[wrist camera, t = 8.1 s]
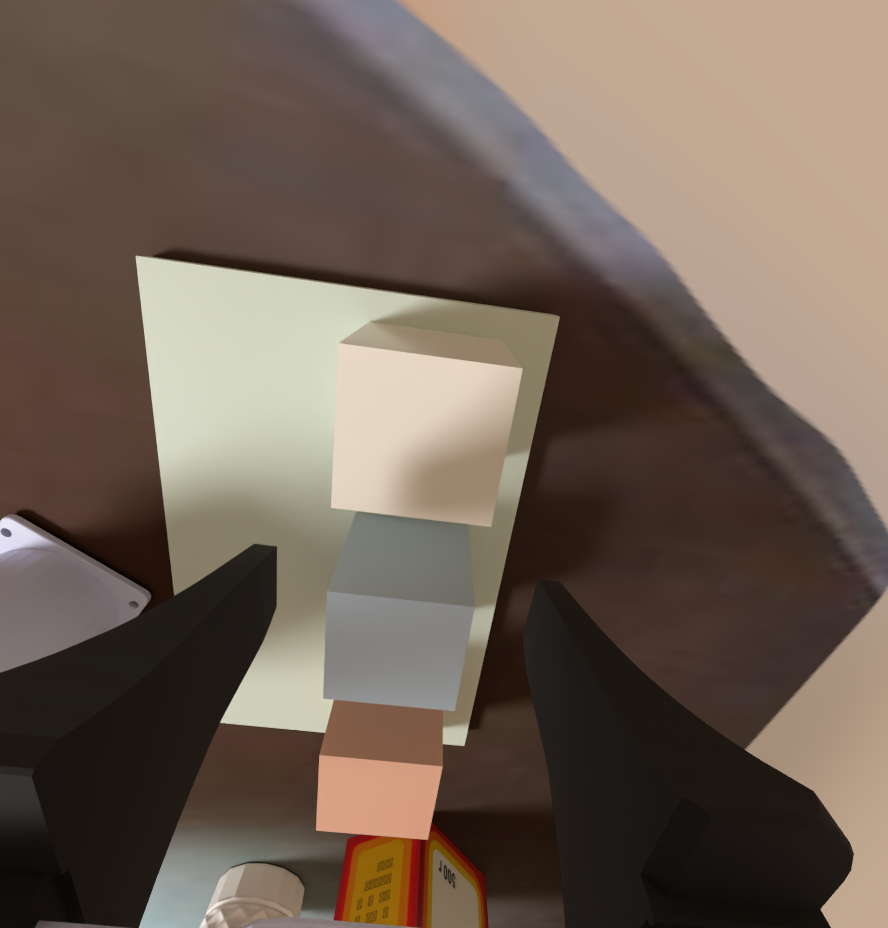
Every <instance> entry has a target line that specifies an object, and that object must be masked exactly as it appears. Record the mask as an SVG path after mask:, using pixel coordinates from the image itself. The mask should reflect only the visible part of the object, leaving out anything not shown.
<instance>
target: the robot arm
mask: <svg viewBox="0 0 888 928" xmlns="http://www.w3.org/2000/svg"><path fill="white" fill-rule="evenodd" d="M9 530H10V531H11V532H10V531H9ZM150 599H151V594H150V593H149V591H147V590H146V589H144V588H143V587H141V586H139V585H137V584H136V583H134V582H132V581H131V580H129V579H127V578H125V577H124V576H122V575H120V574H119V573H117V572H115V571H113V570H112V569H110V568H108V567H106V566H105V565H103V564H101V563H100V562H98V561H96V560H94V559H93V558H91V557H89V556H87V555H86V554H84V553H82V552H81V551H79V550H77V549H75V548H74V547H72V546H70V545H68V544H67V543H65V542H63V541H62V540H60V539H58V538H56V537H55V536H53V535H51V534H49V533H48V532H46V531H44V530H43V529H41V528H39V527H37V526H36V525H34V524H32V523H30V522H29V521H27V520H25V519H24V518H22V517H20V516H18V515H15V514H10V515H7V516H6V517H4V518H2V519H1V521H0V928H139V925H140V922H141V920H142V917H143V914H144V911H145V908H146V906H147V903H148V900H149V897H150V895H151V892H152V889H153V886H154V884H155V881H156V878H157V875H158V873H159V870H160V868H161V865H162V862H163V860H164V857H165V855H166V852H167V849H168V847H169V844H170V841H171V839H172V836H173V834H174V831H175V828H176V826H177V823H178V821H179V818H180V816H181V813H182V811H183V808H184V806H185V803H186V801H187V798H188V796H189V793H190V791H191V788H192V786H193V783H194V781H195V779H196V776H197V774H198V771H199V769H200V767H201V764H202V762H203V760H204V757H205V755H206V752H207V750H208V748H209V745H210V743H211V741H212V738H213V736H214V734H215V732H216V730H217V728H218V726H219V724H220V722H221V720H222V718H223V716H224V714H225V712H226V710H227V708H228V707H229V705H230V703H231V701H232V699H233V697H234V695H235V694H236V692H237V690H238V688H239V686H240V684H241V682H242V681H243V679H244V677H245V675H246V673H247V671H248V669H249V668H250V666H251V664H252V662H253V660H254V658H255V656H256V654H257V653H258V651H259V649H260V647H261V645H262V643H263V641H264V639H265V636H266V634H267V631H268V629H269V626H270V623H271V621H272V618H273V615H274V613H275V610H276V607H277V546H270V545H262V544H253V545H251V546H250V547H248V548H247V549H245V550H244V551H242V552H241V553H240V554H238V555H237V556H235V557H234V558H232V559H231V560H229V561H228V562H226V563H225V564H223V565H222V566H221V567H219V568H218V569H216V570H215V571H213V572H212V573H210V574H208V575H207V576H205V577H204V578H202V579H201V580H199V581H198V582H196V583H195V584H193V585H191V586H190V587H188V588H186V589H185V590H183V591H181V592H180V593H178V594H176V595H175V596H173V597H171V598H170V599H168V600H166V601H165V602H163V603H161V604H160V605H158V606H156V607H154V608H152V609H151V610H149V611H147V612H145V613H143V614H141V615H139V614H140V613H141V611H142V610H143V609H144V607H145V606H146V605H147V603H148V602H149V601H150ZM134 601H135V602H137V603H138V604H137V603H135V602H134ZM138 615H139V616H138ZM523 647H524V658H525V667H526V674H527V678H528V683H529V687H530V692H531V696H532V700H533V705H534V709H535V713H536V718H537V722H538V726H539V730H540V735H541V739H542V743H543V748H544V752H545V757H546V762H547V768H548V774H549V781H550V788H551V796H552V803H553V811H554V819H555V828H556V836H557V845H558V854H559V863H560V873H561V884H562V894H563V904H564V914H565V927H566V928H831V927H830V925H829V924H828V922H827V920H826V918H825V917H824V915H823V913H822V912H821V910H820V909H821V907H822V906H823V905H824V904H825V903H826V902H827V901H828V899H829V898H830V897H831V896H832V894H834V892H835V891H836V890H837V889H838V888H839V886H840V885H841V884H842V883H843V882H844V881H845V879H846V877H847V876H848V874H849V872H850V871H851V867H852V861H853V855H854V853H853V850H852V847H851V845H850V842H849V841H848V839H847V838H846V837H845V835H844V834H843V832H842V831H841V829H840V828H839V827H838V825H837V824H836V822H835V821H834V819H833V818H832V817H831V815H830V814H829V812H828V811H827V809H826V808H825V807H824V805H823V804H822V802H821V801H820V800H819V798H818V797H817V795H816V794H815V793H814V791H812V790H810V789H809V788H807V787H805V786H804V785H802V784H800V783H798V782H797V781H795V780H793V779H792V778H790V777H788V776H787V775H785V774H783V773H782V772H780V771H778V770H776V769H775V768H773V767H771V766H770V765H768V764H766V763H764V762H763V761H761V760H760V759H758V758H756V757H755V756H753V755H752V754H750V753H749V752H747V751H746V750H744V749H743V748H741V747H740V746H738V745H736V744H735V743H733V742H732V741H730V740H729V739H727V738H726V737H724V736H723V735H722V734H720V733H719V732H717V731H716V730H714V729H713V728H712V727H710V726H709V725H707V724H706V723H705V722H703V721H702V720H701V719H699V718H698V717H697V716H695V715H694V714H693V713H691V712H690V711H689V710H688V709H686V708H685V707H684V706H682V705H681V704H680V703H678V702H677V701H676V700H675V699H674V698H672V697H671V696H670V695H669V694H667V693H666V692H665V691H664V690H663V689H662V688H660V687H659V686H658V685H657V684H656V683H655V682H654V681H652V680H651V679H650V678H649V677H648V676H647V675H646V674H644V673H643V672H642V671H641V670H640V669H639V668H638V667H637V666H636V665H635V664H634V663H633V662H632V661H631V660H630V659H629V658H628V657H627V656H626V655H625V654H624V653H623V652H622V651H621V650H620V649H619V648H618V647H617V646H616V645H615V644H614V643H613V642H612V641H611V640H610V639H609V638H608V637H607V636H606V634H605V633H604V632H603V631H602V630H601V629H600V628H599V627H598V626H597V624H596V623H595V622H594V621H593V620H592V619H591V618H590V617H589V615H588V614H587V613H586V612H585V611H584V610H583V608H582V607H581V606H580V605H579V604H578V603H577V601H576V600H575V599H574V598H573V597H572V595H571V594H570V593H569V592H568V591H567V590H566V589H565V587H564V586H563V585H562V584H561V583H560V582H556V581H548V580H540V579H538V581H537V585H536V589H535V592H534V596H533V600H532V603H531V607H530V610H529V614H528V618H527V621H526V625H525V629H524V632H523ZM239 928H416V927H405V926H393V925H381V924H369V923H358V922H346V921H334V920H322V919H311V918H299V917H280V918H262V919H257V920H255V921H253V922H251V923H248V924H246V925H244V926H242V927H239Z"/></svg>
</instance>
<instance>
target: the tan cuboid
mask: <svg viewBox="0 0 888 928" xmlns="http://www.w3.org/2000/svg"><path fill="white" fill-rule="evenodd" d="M522 371H523V368H522V367H521V365H520V364H519V363H518V361H517V360H516V359H515V358H514V356H513V355H512V354H511V353H510V351H509V350H508V349H507V348H506V346H505V345H504V344H503V342H502V341H501V340H496V339H489V338H482V337H475V336H468V335H461V334H454V333H446V332H439V331H432V330H425V329H418V328H411V327H404V326H396V325H389V324H382V323H375V322H368V323H367V324H365V325H364V326H362V327H361V328H359V329H358V330H357V331H355V332H354V333H352V334H351V335H349V336H348V337H346V338H345V339H344V340H342V341H341V342H339V343H338V361H337V383H336V405H335V427H334V449H333V471H332V493H331V508H337V509H345V510H353V511H362V512H370V513H378V514H387V515H395V516H404V517H412V518H420V519H429V520H437V521H446V522H454V523H462V524H471V525H479V526H487V527H491V525H492V520H493V515H494V510H495V505H496V500H497V495H498V490H499V485H500V480H501V475H502V470H503V465H504V460H505V455H506V450H507V445H508V440H509V435H510V430H511V425H512V420H513V415H514V410H515V405H516V401H517V396H518V391H519V386H520V381H521V376H522Z"/></svg>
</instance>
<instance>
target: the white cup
mask: <svg viewBox="0 0 888 928" xmlns="http://www.w3.org/2000/svg"><path fill="white" fill-rule="evenodd" d="M304 891H305V888H304V886H303V884H302V883H301V881H300V879H299V878H298V877H297V876H296V875H294V874H293V873H291V872H290V871H288V870H286V869H284V868H281V867H278V866H276V865H270V864H266V863H246V864H243V865H239V866H236V867H233V868H230V869H229V870H228V871H227V872H226V873H225V874H224V875H223V876H222V877H221V878H220V880H219V883H218V885H217V888H216V890H215V893H214V895H213V898H212V900H211V903H210V905H209V908H208V910H207V913H206V917H205V918H204V920H203V922H202V923H201V925H200V927H199V928H239V927H242V926H244V925H246V924H248V923H251V922H253V921H255V920H257V919H262V918H280V917H299V916H300V911H301V906H302V901H303V896H304Z"/></svg>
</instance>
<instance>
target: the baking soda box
mask: <svg viewBox="0 0 888 928" xmlns="http://www.w3.org/2000/svg"><path fill="white" fill-rule="evenodd" d="M334 921H346V922H358V923H369V924H381V925H393V926H405V927H416V928H488V913H487V898H486V883H485V876H484V875H483V874H482V873H481V872H480V871H479V870H478V869H477V868H476V867H475V866H474V865H473V864H472V863H471V862H470V861H469V860H468V859H467V858H466V857H465V856H464V855H463V853H462V852H461V851H460V850H459V849H458V848H457V847H456V846H455V845H454V844H453V843H452V842H451V841H450V840H449V839H448V838H447V837H446V836H445V835H444V834H443V833H442V832H441V831H440V830H439V829H438V828H437V827H436V826H435V825H434V824H433V823H432V822H431V827H430V832H429V836H428V840H423V839H411V838H400V837H388V836H376V835H364V834H360V835H358V836H355V837H352V838H350V839H348V840H347V846H346V851H345V857H344V863H343V869H342V875H341V881H340V886H339V892H338V898H337V904H336V910H335V916H334Z"/></svg>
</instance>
